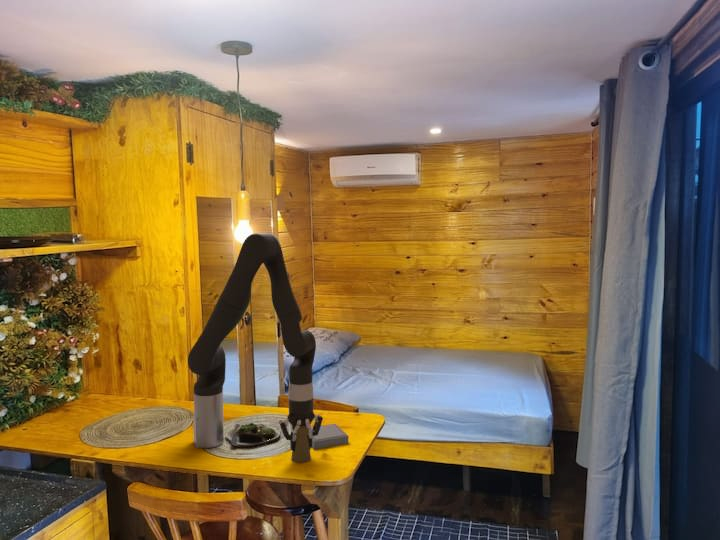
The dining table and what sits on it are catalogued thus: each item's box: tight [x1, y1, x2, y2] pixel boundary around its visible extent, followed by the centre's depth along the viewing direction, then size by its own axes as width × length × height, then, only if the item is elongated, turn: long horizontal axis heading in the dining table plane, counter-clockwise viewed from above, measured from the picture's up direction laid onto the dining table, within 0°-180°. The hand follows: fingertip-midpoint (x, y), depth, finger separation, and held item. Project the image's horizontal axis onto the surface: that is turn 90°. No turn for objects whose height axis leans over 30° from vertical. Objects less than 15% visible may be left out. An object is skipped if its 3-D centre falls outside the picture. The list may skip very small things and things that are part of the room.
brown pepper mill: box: [291, 426, 312, 464], centre depth 168 cm, size 6×6×11 cm
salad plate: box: [225, 422, 281, 449], centre depth 186 cm, size 19×18×5 cm
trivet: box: [311, 423, 349, 450], centre depth 183 cm, size 12×12×3 cm
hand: (301, 450), depth 168 cm, fingers closed on brown pepper mill, 4 cm apart
